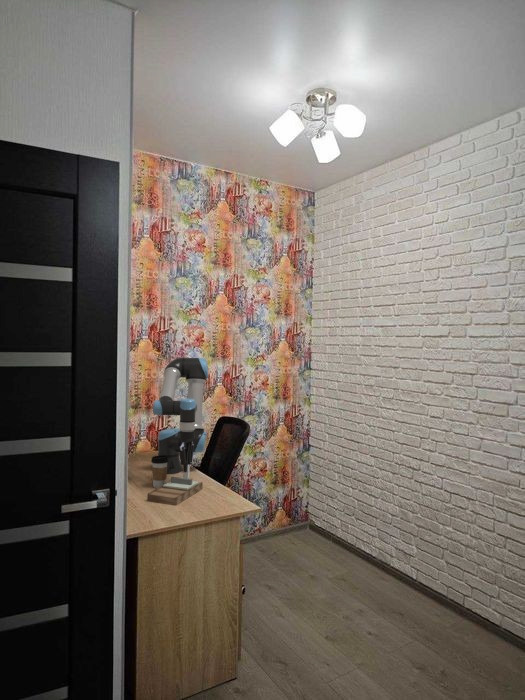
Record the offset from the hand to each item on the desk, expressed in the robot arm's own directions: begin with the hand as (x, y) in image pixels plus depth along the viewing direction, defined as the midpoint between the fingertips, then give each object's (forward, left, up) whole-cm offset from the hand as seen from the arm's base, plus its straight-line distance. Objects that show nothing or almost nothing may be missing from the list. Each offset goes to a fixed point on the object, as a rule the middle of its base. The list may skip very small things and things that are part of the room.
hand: (186, 478), depth 238 cm
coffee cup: (+1, -15, -6) cm, 16 cm away
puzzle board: (+10, 0, -6) cm, 11 cm away
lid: (+5, 0, -2) cm, 5 cm away
